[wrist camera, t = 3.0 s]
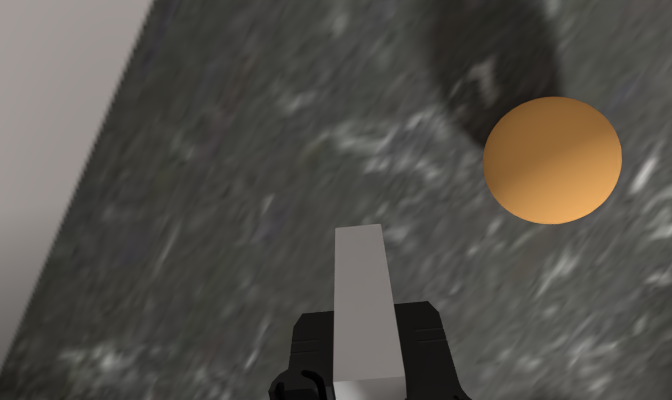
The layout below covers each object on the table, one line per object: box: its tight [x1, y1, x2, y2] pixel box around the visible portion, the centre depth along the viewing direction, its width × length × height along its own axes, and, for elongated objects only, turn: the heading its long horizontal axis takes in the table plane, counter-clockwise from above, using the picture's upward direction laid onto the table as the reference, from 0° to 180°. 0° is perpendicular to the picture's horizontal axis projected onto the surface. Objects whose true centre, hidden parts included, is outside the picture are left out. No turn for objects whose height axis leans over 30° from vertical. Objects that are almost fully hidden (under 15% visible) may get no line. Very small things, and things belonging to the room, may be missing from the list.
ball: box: [483, 97, 622, 224], centre depth 23 cm, size 6×6×6 cm
